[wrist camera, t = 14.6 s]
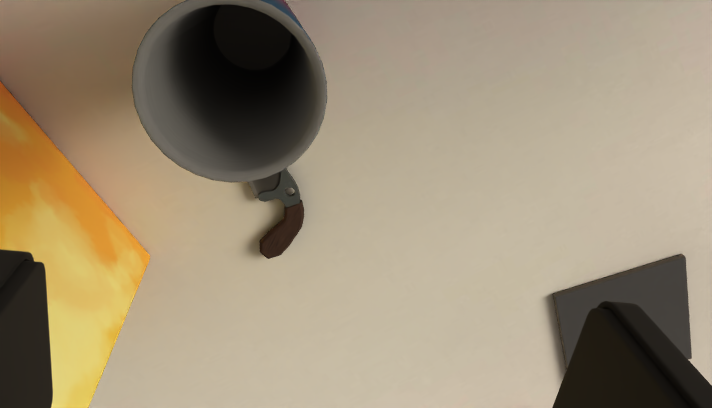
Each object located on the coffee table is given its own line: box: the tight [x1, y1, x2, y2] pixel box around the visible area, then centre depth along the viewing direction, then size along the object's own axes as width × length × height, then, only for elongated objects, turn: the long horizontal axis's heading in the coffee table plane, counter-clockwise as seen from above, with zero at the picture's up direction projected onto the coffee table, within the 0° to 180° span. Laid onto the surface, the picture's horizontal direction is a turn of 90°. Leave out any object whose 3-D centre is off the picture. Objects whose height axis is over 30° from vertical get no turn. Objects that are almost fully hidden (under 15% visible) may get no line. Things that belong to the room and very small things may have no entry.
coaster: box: [553, 254, 692, 369], centre depth 47 cm, size 10×10×1 cm
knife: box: [248, 168, 304, 259], centre depth 38 cm, size 14×4×1 cm, turn 18°
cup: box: [132, 0, 327, 182], centre depth 28 cm, size 7×7×15 cm
